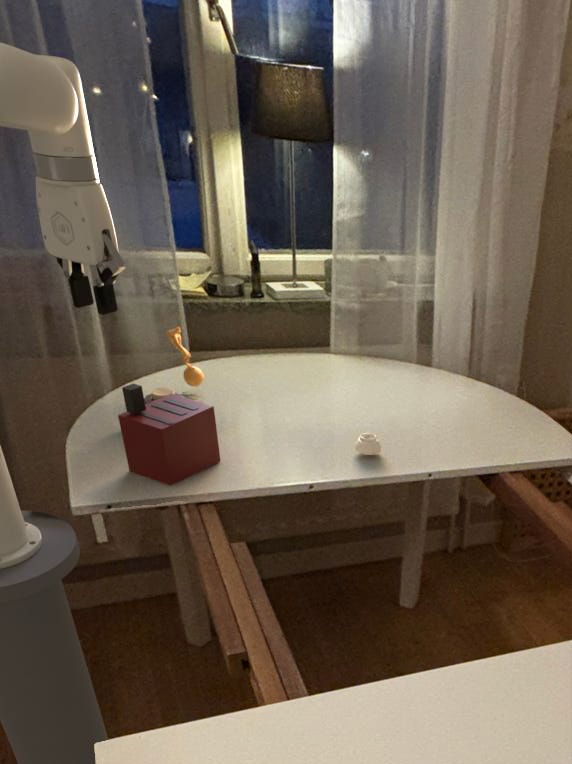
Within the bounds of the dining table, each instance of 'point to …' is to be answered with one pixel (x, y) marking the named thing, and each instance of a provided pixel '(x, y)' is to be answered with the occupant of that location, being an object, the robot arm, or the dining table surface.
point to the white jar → (368, 444)
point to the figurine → (186, 360)
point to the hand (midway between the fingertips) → (96, 307)
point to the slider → (134, 398)
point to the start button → (161, 392)
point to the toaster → (170, 439)
